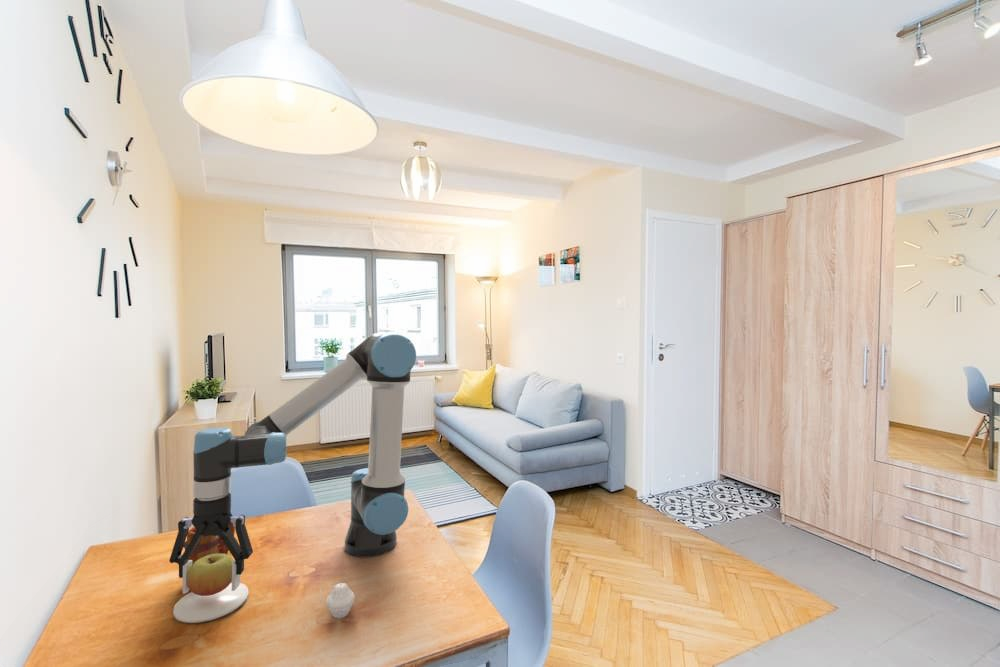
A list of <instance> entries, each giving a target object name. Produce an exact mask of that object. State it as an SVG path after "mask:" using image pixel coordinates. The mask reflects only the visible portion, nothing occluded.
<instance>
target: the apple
mask: <svg viewBox="0 0 1000 667" xmlns="http://www.w3.org/2000/svg"><path fill="white" fill-rule="evenodd" d="M234 560H235V559H234V558H233V556H231V555H229V554H228V553H227V554H211V555H207V556H205V557H202V558H200V559H199V560H197V561H196V562H195V563H194V564H193V565H192V566H191V568H190V569H189V571H188V573H187V585H188V588H189V589H190V590H189V591H190V592H193V593H194V594H196V595H200V596H209V595H214V594H216V593H219V592H221V591H222V590H224V589H225V588H227V587H228V586H229V584H230V583H231V582H232V563H233V561H234Z"/></svg>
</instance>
